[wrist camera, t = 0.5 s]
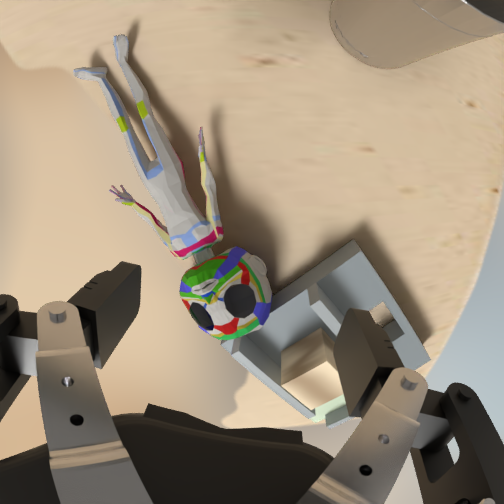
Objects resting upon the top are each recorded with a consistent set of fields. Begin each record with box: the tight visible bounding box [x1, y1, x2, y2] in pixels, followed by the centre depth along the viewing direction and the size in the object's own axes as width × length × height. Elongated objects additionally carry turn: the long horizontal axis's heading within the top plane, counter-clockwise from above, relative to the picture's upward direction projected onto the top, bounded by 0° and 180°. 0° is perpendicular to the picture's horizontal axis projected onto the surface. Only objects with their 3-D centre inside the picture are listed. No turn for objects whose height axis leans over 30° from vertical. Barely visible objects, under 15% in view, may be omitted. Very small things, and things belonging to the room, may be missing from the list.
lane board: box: [221, 239, 431, 429], centre depth 31 cm, size 17×18×6 cm
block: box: [281, 328, 343, 410], centre depth 29 cm, size 5×5×5 cm
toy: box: [73, 34, 272, 340], centre depth 26 cm, size 10×8×30 cm
